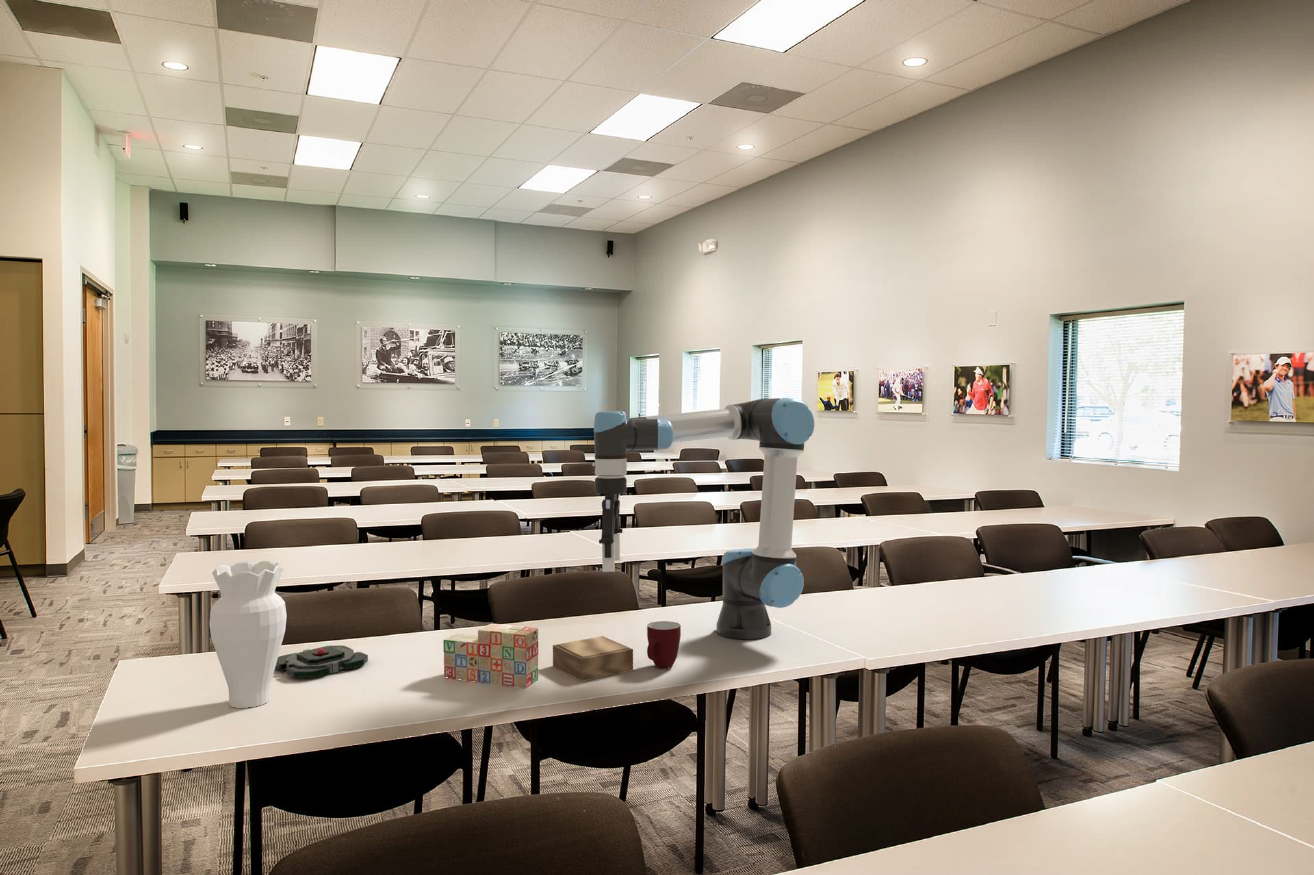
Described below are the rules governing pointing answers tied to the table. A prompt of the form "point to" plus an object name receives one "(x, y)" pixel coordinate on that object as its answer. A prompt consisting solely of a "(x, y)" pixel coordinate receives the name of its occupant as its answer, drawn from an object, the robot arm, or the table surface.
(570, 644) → the walnut block
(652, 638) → the mug
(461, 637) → the stack of blocks
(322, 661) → the four-lobed dark green device
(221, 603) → the vase
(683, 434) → the robot arm
